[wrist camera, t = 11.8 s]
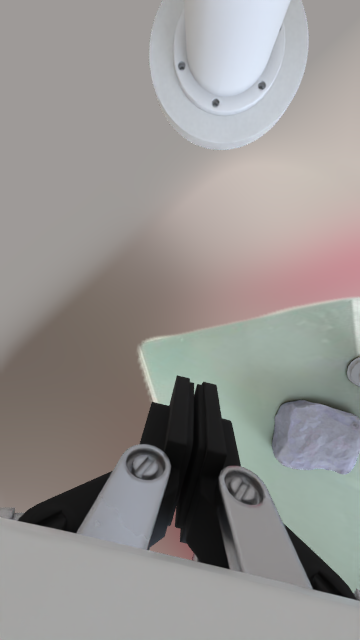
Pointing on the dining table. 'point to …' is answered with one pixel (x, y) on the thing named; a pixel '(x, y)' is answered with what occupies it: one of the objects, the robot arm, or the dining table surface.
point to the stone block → (316, 437)
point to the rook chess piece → (354, 371)
